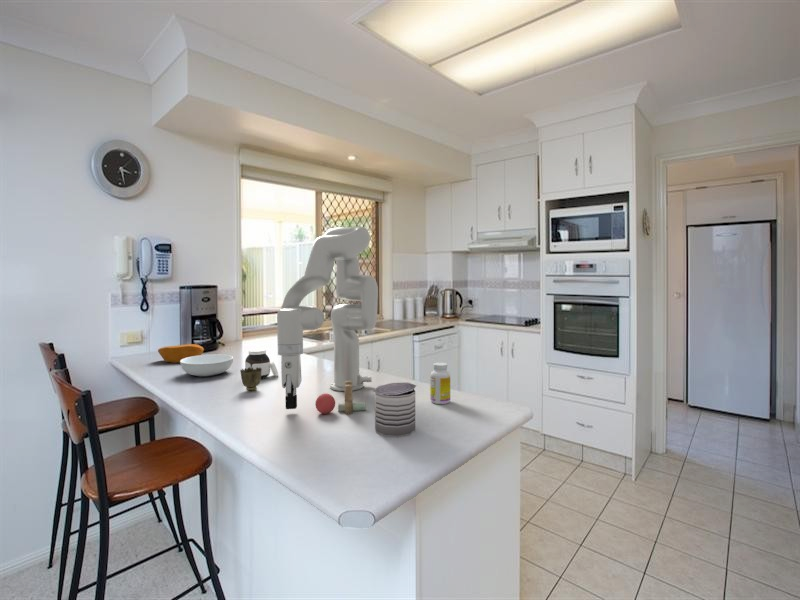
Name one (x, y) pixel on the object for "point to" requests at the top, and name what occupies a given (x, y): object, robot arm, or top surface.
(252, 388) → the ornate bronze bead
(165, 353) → the bread
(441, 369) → the supplement bottle
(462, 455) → the top surface
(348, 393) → the pin
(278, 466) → the top surface
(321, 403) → the ball
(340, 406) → the front pin
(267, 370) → the spread jar
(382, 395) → the can
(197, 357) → the serving bowl
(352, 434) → the top surface
